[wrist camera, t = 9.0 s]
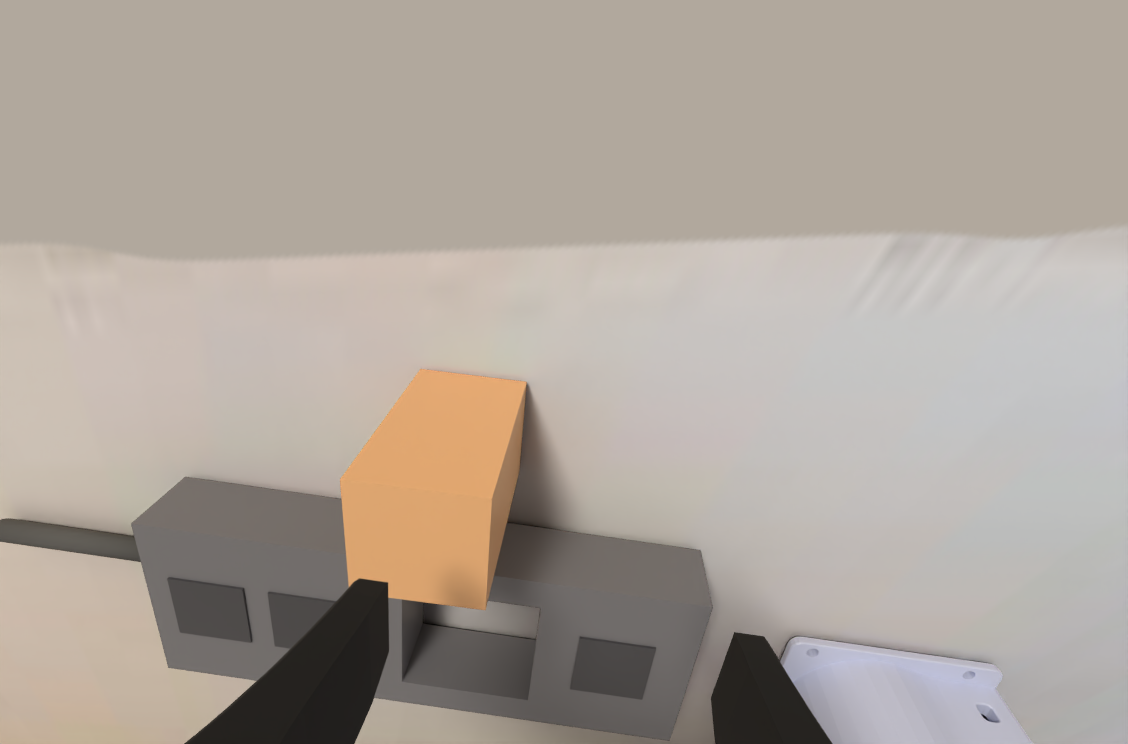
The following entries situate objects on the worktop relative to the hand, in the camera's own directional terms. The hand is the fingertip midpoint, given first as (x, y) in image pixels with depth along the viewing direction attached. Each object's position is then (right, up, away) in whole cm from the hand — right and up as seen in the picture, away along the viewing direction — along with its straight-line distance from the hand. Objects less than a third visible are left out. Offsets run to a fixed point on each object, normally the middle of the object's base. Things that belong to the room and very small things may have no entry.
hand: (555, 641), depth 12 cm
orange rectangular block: (-3, +4, +10) cm, 11 cm away
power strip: (-10, -3, +14) cm, 17 cm away
